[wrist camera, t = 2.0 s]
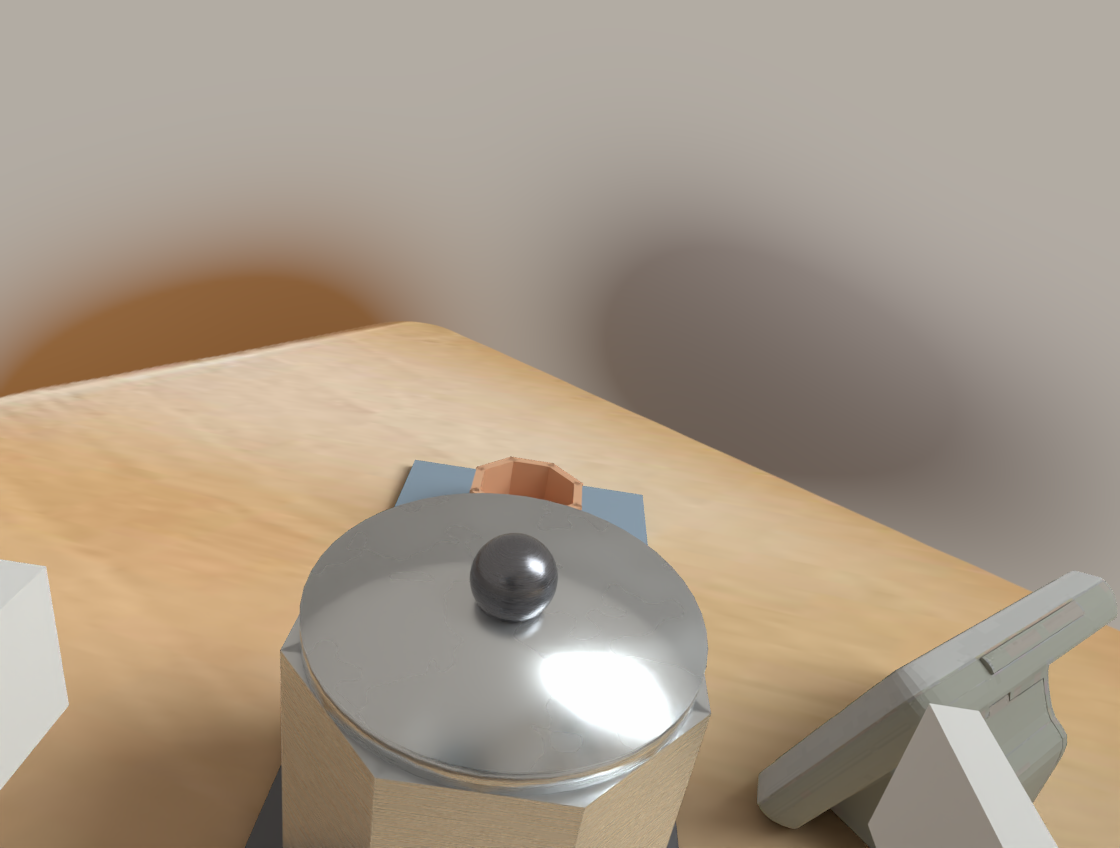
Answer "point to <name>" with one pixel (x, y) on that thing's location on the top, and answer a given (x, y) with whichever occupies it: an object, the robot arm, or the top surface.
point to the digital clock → (951, 680)
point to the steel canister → (490, 683)
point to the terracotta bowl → (528, 481)
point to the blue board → (458, 480)
